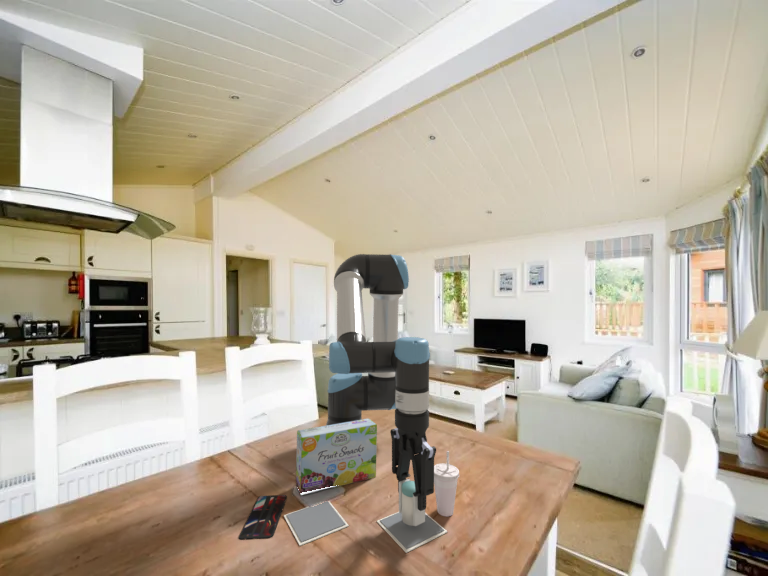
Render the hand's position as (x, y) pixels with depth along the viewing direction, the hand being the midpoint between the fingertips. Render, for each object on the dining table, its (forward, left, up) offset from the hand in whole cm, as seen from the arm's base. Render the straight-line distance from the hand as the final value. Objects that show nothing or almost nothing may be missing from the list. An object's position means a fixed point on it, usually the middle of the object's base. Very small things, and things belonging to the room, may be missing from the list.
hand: (411, 516), depth 74 cm
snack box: (-25, -6, -3) cm, 26 cm away
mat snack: (-13, -17, -2) cm, 22 cm away
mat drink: (0, 0, -2) cm, 2 cm away
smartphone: (-21, -26, -3) cm, 34 cm away
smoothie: (0, +10, -3) cm, 10 cm away
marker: (0, 0, -1) cm, 1 cm away
